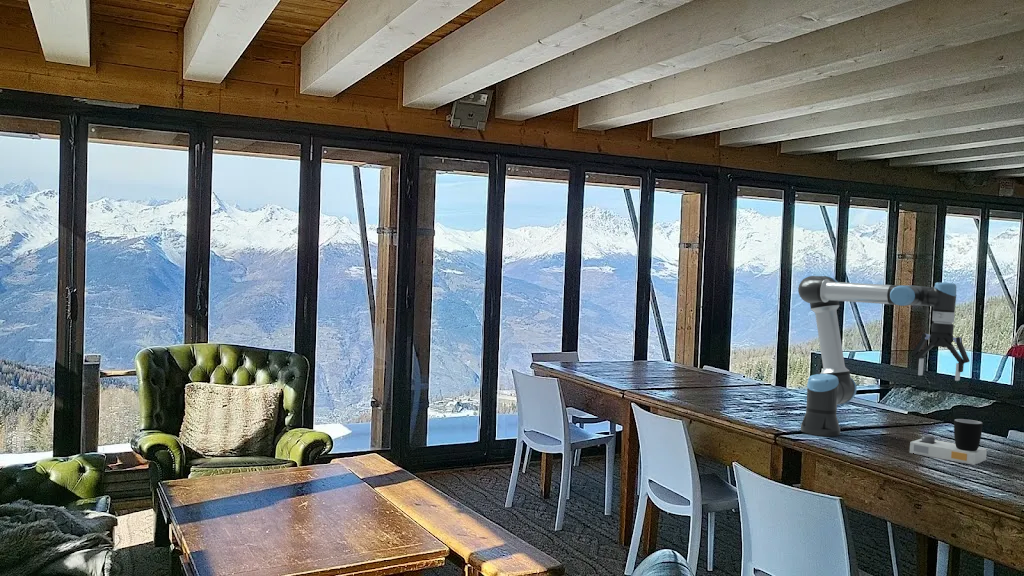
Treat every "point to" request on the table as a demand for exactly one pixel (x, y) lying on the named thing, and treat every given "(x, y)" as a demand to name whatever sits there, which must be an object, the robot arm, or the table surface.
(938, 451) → the white rectangular box
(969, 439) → the mug
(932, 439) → the dark grey rounded piece
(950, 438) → the table surface
